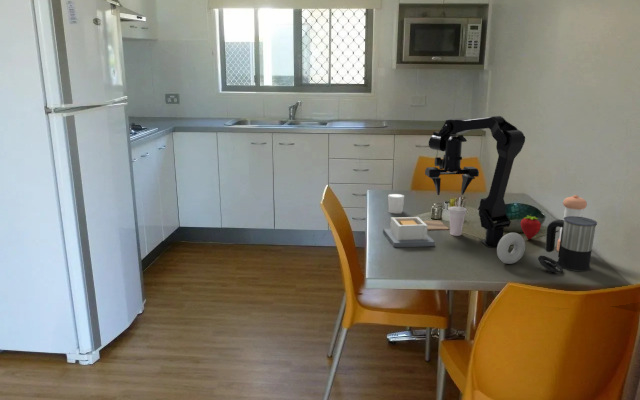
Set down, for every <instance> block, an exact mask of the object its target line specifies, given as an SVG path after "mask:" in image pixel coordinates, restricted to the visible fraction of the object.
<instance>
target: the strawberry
mask: <svg viewBox="0 0 640 400" xmlns="http://www.w3.org/2000/svg"><path fill="white" fill-rule="evenodd" d="M541 224H542V223H541V222H540V221H539V217H536V216H532V215H527V216H525V217H523V218H522V219H521V221H520V228H521V230H522V232H523V234H524V235H525V237H526V239H527V240H532V239H533V238H535V236H536V235H537V234H538V233H539V232H540V230H541V229H542V226H541Z"/></svg>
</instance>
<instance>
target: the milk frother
mask: <svg viewBox="0 0 640 400" xmlns="http://www.w3.org/2000/svg"><path fill="white" fill-rule="evenodd" d="M563 219H564V220H563ZM563 219H556V220H552V221H551V222H549V224H548V225H547V228H546V236H545V237H546V239H545V250H546V252H547V253H551V252H554V251H555V245H556V234H557V233H556V232H557V228H561V227H562V234H561V241H560V248H559V252H558V255H557V257H558V261H556V260H554V259H553V258H550V257H548V256H546V255H539V256H538V257H537V260H538V262H539V264H540V265H541V266H543V267H544V269H546V270H548V271H549V272H550V273H556V274H557V273H558V274H559V273H562V272H563V269H566V270H570V271H574V272H587V271H589V270H591V256H592V252H593V251H592V250H593V245H594V239H595V238H594V237H595V234H596V233H595V232H596V227H597V225H598V221H596V220H594V219H592V218H588V217H583V216H582V217H577V216H567V217H564V216H563Z"/></svg>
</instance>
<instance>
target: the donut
mask: <svg viewBox="0 0 640 400" xmlns="http://www.w3.org/2000/svg"><path fill="white" fill-rule="evenodd" d="M511 245H513V248H512V249H511V251H510V252H509V248H510V246H511ZM525 249H526V242H525V238H523V236H522V235H521V234H519V233H517V232H509V233H506V234H503V237H502V238H501V239H500V241H499V243H498V246H497V247H496V254H497V257H498V259H499V260H500V261H501V262H502V263H504V264H508V265H511V264H515V263H517V262H519V260H520V259H521V258H522V257H523V256H524V254H525Z"/></svg>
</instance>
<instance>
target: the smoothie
mask: <svg viewBox="0 0 640 400" xmlns="http://www.w3.org/2000/svg"><path fill="white" fill-rule="evenodd" d="M461 199H462V197H461V196H459V198H458V205H457V206H453V205H452V206H449V207H448V214H449V216H448V217H449V235H452V236H455V237H458V236H459V237H460V236H461V235H462V232H463V231H462V230H463V227H464V221H465V216H466V213H467V210H468V209H467V208H466V207H464V206H461Z"/></svg>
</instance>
